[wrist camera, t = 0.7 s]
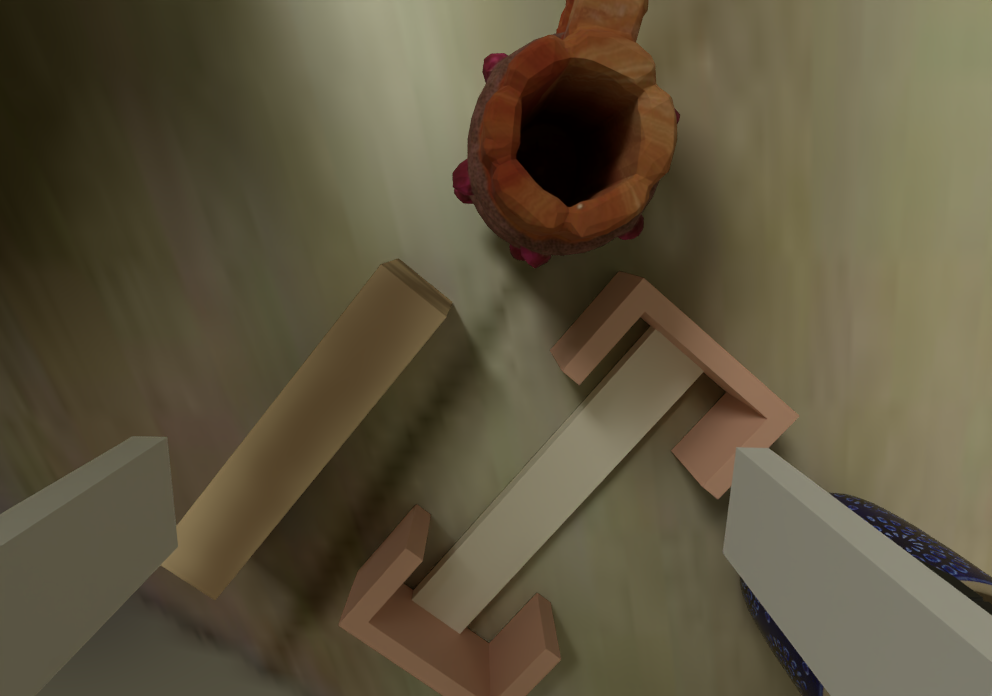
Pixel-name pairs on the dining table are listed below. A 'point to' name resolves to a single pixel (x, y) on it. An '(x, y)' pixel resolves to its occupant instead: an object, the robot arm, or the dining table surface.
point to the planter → (904, 537)
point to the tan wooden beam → (306, 425)
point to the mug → (569, 135)
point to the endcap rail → (556, 496)
